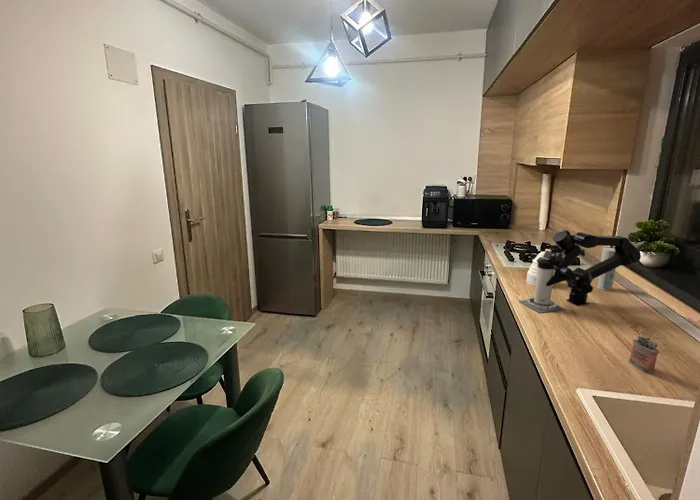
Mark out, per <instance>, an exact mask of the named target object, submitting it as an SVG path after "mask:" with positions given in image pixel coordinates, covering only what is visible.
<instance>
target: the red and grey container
mask: <svg viewBox="0 0 700 500" xmlns="http://www.w3.org/2000/svg"><path fill="white" fill-rule="evenodd" d="M657 347H658V343H657V342H655V341H653V340H652V339H651V338H650V337H648V336H644V335H643V334H642V335H641V334H638V336H637V339H633V340H632V348H631V354H630V358H629V359H628V362H629V363H630V364H631V365H632V366H634V367H635V368H636V369H637V370H639V371H641V372H643V373H645V374H647V375H654V374H655V367H656V363H657V357H658V355H659V352H660V351H659V350H658V349H657Z"/></svg>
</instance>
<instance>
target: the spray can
mask: <svg viewBox="0 0 700 500" xmlns="http://www.w3.org/2000/svg"><path fill="white" fill-rule="evenodd" d="M615 252H616V251H615V249H614V248H613V247H603V248H602V251H601V256H600V257H601V258H600V262H602V261H604V260H606V259H608V258H610V257H612V256H613V255H614V253H615ZM616 269H617V268H615V269H613V270H610V271H608V272H606V273H604V274H602V275H600V276H598V277H597V282H596V289H597V288H599V289H601V290H600V291H603V290H611V291H612V289H613V286H614V285H613V284H614V279H615V275H616ZM599 289H598V290H599Z"/></svg>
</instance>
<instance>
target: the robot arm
mask: <svg viewBox="0 0 700 500" xmlns="http://www.w3.org/2000/svg"><path fill="white" fill-rule="evenodd" d="M552 241H553V242H554V243H555V244H556V246H557V247H558V248H559V249H560V250H561V252H553V251H551V252H549V251H546V252H545V251H544V252H545V254H544V256H543V257H544V258H542V257H540V258H538V259H537V260H536V261H537V262H538V261H541V260H547V259H549V260H551V261H555V263H554V271H555V272H554V273H555V274H554V275H553V277H552V278H551V279H550V280H549V281H548V282H547V284H546V286H550V285H553V284H554V285H555V284H559V283H561V282H565V281H566V283H567V287H568V288H570V292H569V296H568V298H567V299H566V302H568V303H571V304H573V305H575V306H586V305H590V303H589V302H588V301H587V300H588V294H590V293H592V292H593V290H594V287H593V286H592V285H591V284H592V282H593V280H594V279H596V278H598V276H600V275H602V274H604V273H606V272H608V271H610V270H613V269H615V268H616V269H617V268H618V267H621V266H630V265H632V264H637V263H638V262H639V261H640V260H641V258H642V255H641V251H639V250H638V248H637V247H636V246H635V245H634V244H632V243H631V242H630V240H629V238H627V237H624V236H620V235H615V236H614V235H594V234H589V233H586V232H580V231H578V232H576V234H571V232H570V231H569V230H568V229H563V231H559V232H557V233H554V235H553V236H552ZM597 246H601V247H602V246H603V247H605V246H606V247H607V246H608V247H611V246H612V247H614V249H615V251H616V252H615V253H614V255H613V256H612V257H610V258H608V259H606V260H604V261H602V262H601V261H600V262H599V263H597V264H595V265H593V266H590V267H588V268H587V269H583V268H581V267H576V268H575V269H573V270H572V268H569V266H571V267H572V266H573V265H574V263H573V262H574V261H575V260H576V259H577V258H578V257H579V256H581V257H585V256H586V253H585V249H592V248H596V247H597ZM582 247H583V248H585V249H583V248H582ZM545 258H547V259H545Z"/></svg>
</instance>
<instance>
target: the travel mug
mask: <svg viewBox="0 0 700 500" xmlns="http://www.w3.org/2000/svg"><path fill="white" fill-rule="evenodd" d="M554 263H555V261H551V260H541V261H538V268H537V277H536V286H534V287H535V289H534V290H535V291H534V296H533V297H534V303H535V304H536V305H539V306H549V305H550V299H551V300H552V288H553V287H552V285H550V286H546V284H547V282H548V281H549V280H550V279H551V278H552V277H553V273H555V272H554V271H555V270H554Z"/></svg>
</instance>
